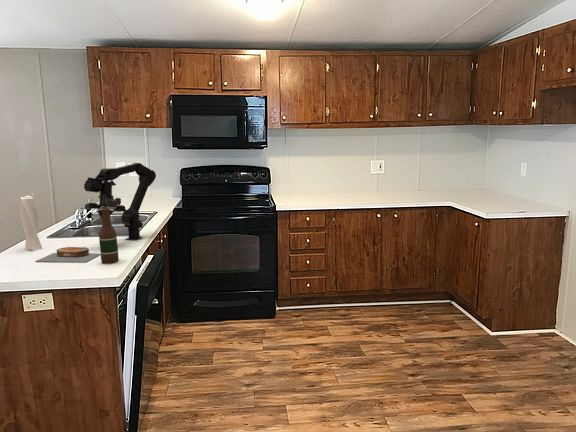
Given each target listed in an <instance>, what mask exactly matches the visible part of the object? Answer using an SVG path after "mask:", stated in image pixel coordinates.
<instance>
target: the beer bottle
mask: <svg viewBox="0 0 576 432" xmlns="http://www.w3.org/2000/svg"><path fill="white" fill-rule="evenodd" d="M101 211H102V219H101V221H102V222H101V224H102V225H101V228H100V230H99V232H98V238H99V241H98V242H99V250H100V251H99V252H100V253H101V255H100V260H101V264H102V265H103V264H104V265H106V264H107V265H110V264H116V263H118V262H119V259H120V258H119V247H118V238H117V231H116V229H115V228H114V226H113V225H112V222H111V215H110V213H109V211H110V209H109V208H102V209H101Z"/></svg>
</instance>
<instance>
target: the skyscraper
mask: <svg viewBox="0 0 576 432" xmlns="http://www.w3.org/2000/svg"><path fill="white" fill-rule="evenodd" d="M20 218H21V219H20V221H21V223H22V224H21V225H22V227H23V228H22V229H23V230H24V231H23V232H24V234H25V244H24V245H25V246H24V247H25V248H24V250H25V249H28V251H36V250H39V249H43V246H42V244H41V241H40V238H39V234H38V232H39V225H40V224H39V223H40V221H39V211H38V208H37V205H36V201H35V194H34V192H31V195H24V197H23V196H21V197H20Z"/></svg>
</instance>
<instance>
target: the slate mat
mask: <svg viewBox="0 0 576 432" xmlns="http://www.w3.org/2000/svg"><path fill="white" fill-rule="evenodd" d="M99 256H100V257H101V253H95V252H94V253H90V252H89V254H87V255H85V256H81V257H61V256H58V255H57V252H52V253H50V254H48V255H46V256H44V257H42V258H40V259H37V260H35V263H81V264H82V263H83V264H85V263H88V262H90V261H92V260H94V259H96V258H97V257H99Z"/></svg>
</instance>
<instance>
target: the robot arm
mask: <svg viewBox="0 0 576 432" xmlns="http://www.w3.org/2000/svg"><path fill="white" fill-rule="evenodd" d="M133 172H135V174H136V175H138V187H137V189H136V190H135V193H134V196H133V198H132V201H131V203H130V206H129V208H128V209H126V207H125V205H123V204H121V203H122V198H121V197H115V198H114V195H113V186H115V187H116V186H117V184H116V183H115V182H114V180H116V179H118V178H120V176H122V175H123V176H124V175H126V174H131V173H133ZM156 177H157V174H156V172H155V171H154V170H153V169H151V168H149V167H147V166H145V165H143V164H142V163H140V162H133V163H130V164H126V165H122V166H119V167H114V168H108V167H107V168H101V169H100V171H99V172H98V174H97V175H96V176H95V178H93V177H87V179H86V181H85V182H84V185H83V188H84V190H85V191H86V192H90V193H91V192H92V193H99V195H98V196H97V197H98V199H99V203H96V202H89V203H85V204H84V210H86V211H87V210H88V211H91V210H96V211H95V213H97V214H98V215H99V217H100V218H101V220H102V211H101V209H102V208H109V209H110V211H109V213H110V216H111V215H112V214H113V213H117V212H118V213H122V212H123V213H122V215H120V216H121V219H120V220H121V222H122V224H123V226H124V228H127V230H128V231H127V233H128V237H126V238H125V239H126V240H127V241H128V240H130V241H133V240H140V239H141V238H143V236H142V235H140V234H141V232H140V229H141V228H143V225H144V223H143V221H141V220H140V212H139V211H140V209H141V206H142V203H143V201H144V198H145V196H146V193H147V190H148V188H149V187H150V186H151V185H152V184H153V183H154V181H155V179H156Z"/></svg>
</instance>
